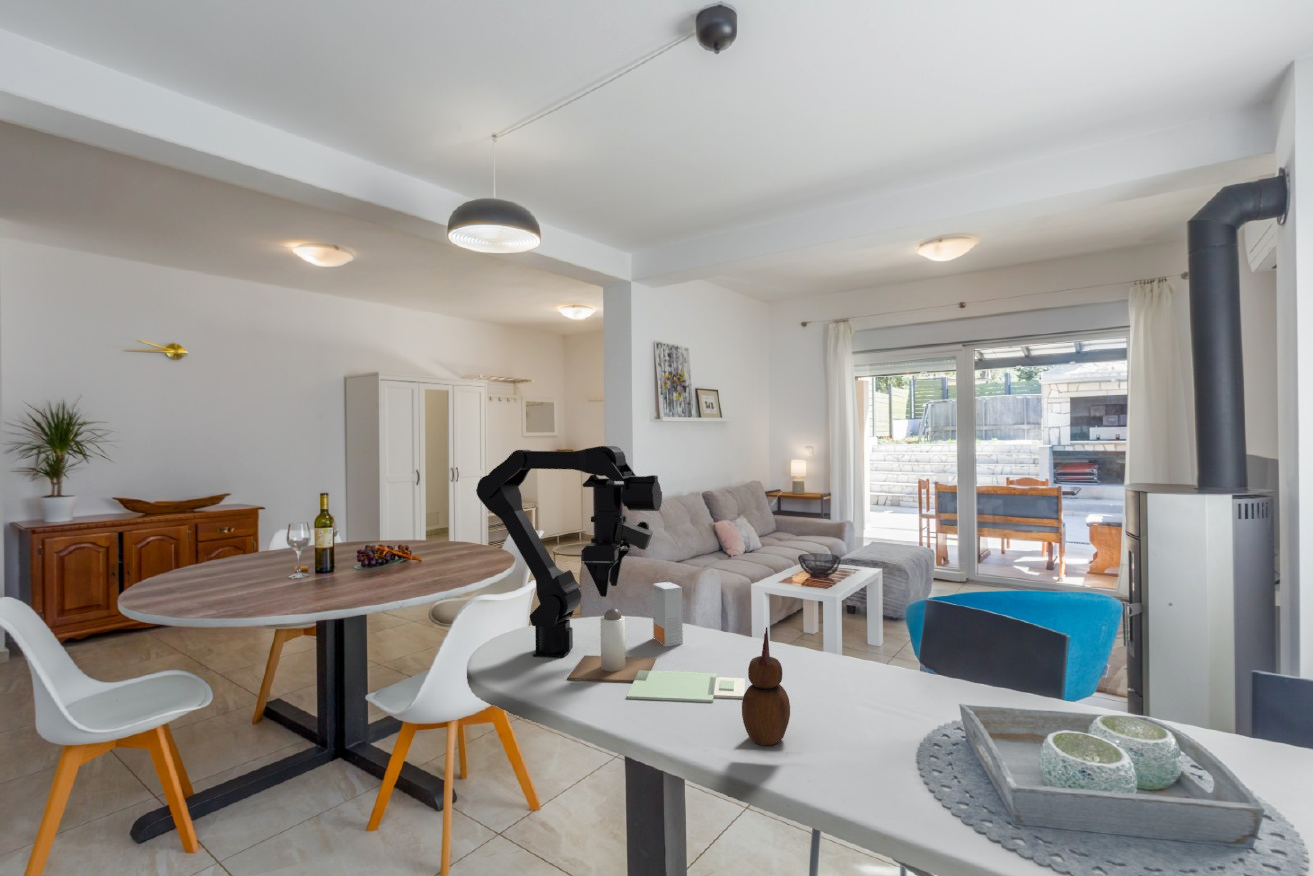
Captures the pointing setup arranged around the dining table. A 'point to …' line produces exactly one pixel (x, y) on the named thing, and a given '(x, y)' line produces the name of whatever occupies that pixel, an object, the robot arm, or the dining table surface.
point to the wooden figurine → (765, 700)
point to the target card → (728, 687)
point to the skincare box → (667, 613)
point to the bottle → (613, 641)
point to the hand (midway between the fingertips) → (609, 591)
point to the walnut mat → (592, 672)
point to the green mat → (673, 686)
